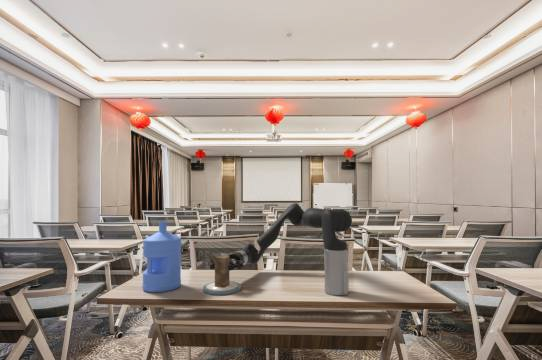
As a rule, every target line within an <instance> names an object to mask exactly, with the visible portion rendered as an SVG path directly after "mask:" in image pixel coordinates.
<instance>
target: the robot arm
mask: <svg viewBox="0 0 542 360" xmlns="http://www.w3.org/2000/svg"><path fill="white" fill-rule="evenodd" d="M287 219H288V220H289V221H290V223H291V224H292V225H293V226H295V227H303V226H304V227H308V228H309V227H310V228H314V229H316V228H317V229H321V230H322V242H323V253H324V254H323V257H324V258H323V259H324V260H323V261H324V264H323V265H324V266H323V267H324V293H326V294H328V295H332V296H348V295H349V291H350V287H349V286H350V284H349V283H350V281H349V267H348V266H349V265H348V263H349V261H348V243H347V242H346V241H345V240H342V239H340V238H338V236H337V234H336V233H342V232H346V231H348V230H349V229H350V228H351V227H352V223H353V218H352V215H351V214H350V212H349V211H347V210H346V209H343V208H340V209H339V208H336V209H335V208H334V209H325V208H318V207H310V208H307V209H305V211H304V209H303V207H301V205H300V204H299V203H297V202H294V203H292V204H290V205H289V206H287V208H286V209H285V210H283V212H282V213H281V214H280V215H279V216H278V217H277V218H276V220H275V221H274V222H273V224H272V225H270V227H269V228H268V229H267V230H266V231H264V233H263V234H261V235H260V236H259V237H258V238H256V243H257V244H258V247H259V250H258V249H257V248H256V247H255V246H254V245H253V244H252V243H247V244H245V245H244V246H243V247H242V249H240V250H236V251H234V252H231V253H229V254H227V256H229V266H228V270H229V272H230V271H235V270H236V271H237V270H241V269H243V268H245V267H246V265H247V264H248V263H250V264H252V265H255V264H257V263H259V261H260V260H261V258H262V256H263V255H264V253H265V252H266V251H267V250H268V248H270V246H272V244H274V243H275V242H276V240H277V239H278V237H279V235H280V232H281V229H282V226H283V223H284V222H285V221H286V220H287ZM209 269H210V270H213V269H214V270H215V259H214V260H211V262H210V264H209Z"/></svg>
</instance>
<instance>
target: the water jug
mask: <svg viewBox="0 0 542 360" xmlns="http://www.w3.org/2000/svg"><path fill="white" fill-rule="evenodd" d="M167 222H168V221H159V222H158V224H159V225H158V231H157V232H156V233H154V234H151V235H149V236H148V237H147V238H146V237H145V238H144V239H143V243H142V246H143V247H142V250H143V253H142V255H143V257H144V258H146V269H145V270H144V271H143V272H142V284H141V285H142V287H141V288H142V290H143V291H144V292H147V293H167V292H170V291H174V290H176V289H178V288H180V286H181V284H182V278H181V274H182V273H181V269H182V255H181V254H182V238H181V236H179V235H176V234H174V233H171V232H169V231H168V230H167V226H168V225H167Z"/></svg>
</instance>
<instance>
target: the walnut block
mask: <svg viewBox="0 0 542 360" xmlns="http://www.w3.org/2000/svg"><path fill="white" fill-rule="evenodd" d="M214 260H215V268H214V282H215V287H222V288H225V287H226V286H228V285H229V281H230V271H229V270H228V266H229V256H228V255H217V256H216V257H214Z"/></svg>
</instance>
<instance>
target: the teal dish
mask: <svg viewBox="0 0 542 360" xmlns="http://www.w3.org/2000/svg"><path fill="white" fill-rule="evenodd" d="M241 290H242V284H241V283H239V282H237V281H234V280H233V281H232V280H229V285H228V286H226V287H225V288H222V287H215V281H212V282H209V283H206V284H205V285H203V286H202V292H203V293H204V294H206V295H210V296H227V295H228V296H229V295H233V294H236V293H238V292H240V291H241Z"/></svg>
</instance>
